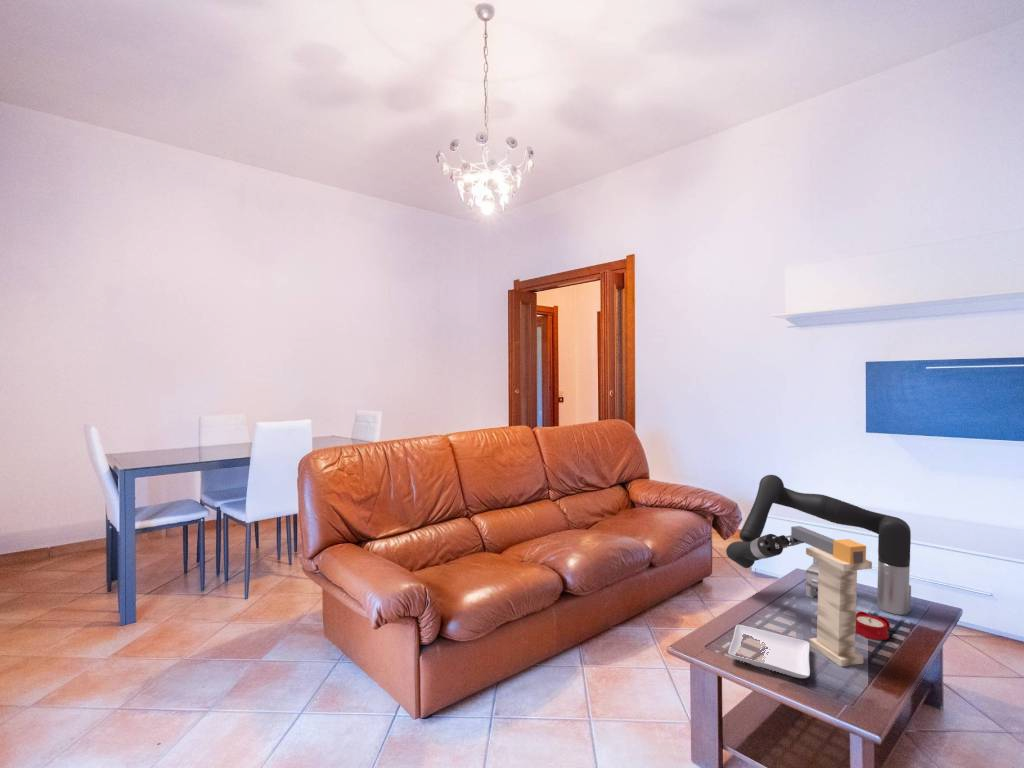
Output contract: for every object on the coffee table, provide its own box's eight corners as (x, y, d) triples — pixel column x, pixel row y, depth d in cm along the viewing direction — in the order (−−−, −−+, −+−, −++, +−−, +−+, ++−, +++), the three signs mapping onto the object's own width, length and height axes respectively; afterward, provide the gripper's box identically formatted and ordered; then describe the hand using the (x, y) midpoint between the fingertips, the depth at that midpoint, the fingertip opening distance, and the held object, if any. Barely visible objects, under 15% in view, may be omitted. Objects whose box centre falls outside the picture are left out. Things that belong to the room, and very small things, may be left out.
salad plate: (809, 650, 158) (809, 640, 158) (809, 687, 140) (810, 675, 140) (736, 632, 169) (736, 622, 169) (727, 664, 151) (727, 653, 151)
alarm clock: (847, 623, 168) (856, 598, 179) (848, 639, 169) (856, 614, 180) (886, 634, 161) (892, 608, 171) (886, 651, 162) (892, 624, 173)
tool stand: (830, 640, 164) (832, 545, 163) (869, 664, 150) (871, 561, 149) (803, 643, 162) (806, 547, 161) (841, 668, 148) (843, 564, 147)
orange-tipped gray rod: (802, 536, 172) (802, 521, 172) (865, 562, 149) (866, 545, 149) (788, 537, 171) (788, 522, 171) (850, 564, 148) (850, 547, 148)
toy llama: (803, 597, 194) (804, 546, 194) (815, 584, 207) (817, 535, 206) (825, 604, 189) (827, 551, 188) (837, 589, 201) (838, 540, 201)
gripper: (745, 537, 186) (773, 527, 172) (779, 535, 189) (809, 524, 175) (752, 558, 182) (781, 550, 168) (786, 555, 185) (817, 547, 171)
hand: (795, 537), depth 172 cm, fingers open, 8 cm apart
